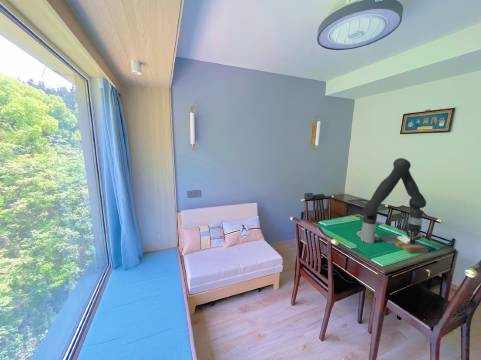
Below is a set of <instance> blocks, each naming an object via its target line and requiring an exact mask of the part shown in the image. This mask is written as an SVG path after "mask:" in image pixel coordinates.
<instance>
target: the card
mask: <svg viewBox="0 0 481 360" xmlns="http://www.w3.org/2000/svg"><path fill="white" fill-rule="evenodd" d="M397 239H399V240H401V241H403V242H405V243H407V244H411V243H410V237H408V236H405V235H398V237H397Z"/></svg>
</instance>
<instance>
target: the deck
mask: <svg viewBox="0 0 481 360" xmlns="http://www.w3.org/2000/svg"><path fill="white" fill-rule="evenodd" d="M394 246H396V247H397V248H399V249H401V250H403V251H405V252H407V253H408V254H424V253H428V252H429V247H428V246H425V245H423V244H422V243H419V242H417V241H415V244H407V243H405V242H403V241H401V240H395V243H394Z"/></svg>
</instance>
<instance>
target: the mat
mask: <svg viewBox="0 0 481 360" xmlns="http://www.w3.org/2000/svg"><path fill="white" fill-rule="evenodd" d="M398 236H399V235H398V234H395V235H394V234H391V235H390V234H388V235H376V237H377V238H379V239H380V240H382V241H384V242H385V243H387V244H389V245H393V244H394V243H395V240H399V239H397V237H398Z"/></svg>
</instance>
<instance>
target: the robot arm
mask: <svg viewBox="0 0 481 360" xmlns="http://www.w3.org/2000/svg"><path fill="white" fill-rule="evenodd" d="M392 164H393V169H392V170H391V172H390V174H389V175H388V176H387V177H385V178H384V179H383V180H382V181H381V182H380V183H379V185H378V187H376V189H375V191H374V193H373V194H372V195H371V198H370V199H369V200H368V202H367V203H366V204H365V205H364V206H363V207H362V212H363V217H362V225H361V226H362V227H361V229H360V240H361V241H362V242H363V241H364V242H363V243H365V242H366V244H374V243H375V235H376V224H377V218H378V208H379V207H380V205H381V204H382V203H383V202H384V201H386V199H387V198H388V197H389V196H390V194H391V193H392V191H394V189H395V188H396V186H397V184H398V183H399V181H400V180H402V184H403V185H404V188H405V191H406V193H407V195H408V196H409V197H410V199H409V201H408V206H409V217H408V222H407V227H408V228H407V229H404V231H405V234H406V237H407V238H409V239H410V243H411V244H415V242H416V241H419V240H421V239H422V238H423V237H424V236H423V235H422V234H421V230H422V223H423V213H424V212H423V211H422V209H423V208H425V207H426V206H427V200H426V198H425V197H424V196H423V194H422V193H421V191H420V189H419V186H418V185H417V183H416V181H415V179H414V178H413V175H412V174H411V171H410V169H411V166H412V165H411V162H410V161H409V160H408V159H406V158H404V157H400V158H399V157H398V158H397V159H395V160H394V161H393V163H392Z"/></svg>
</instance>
